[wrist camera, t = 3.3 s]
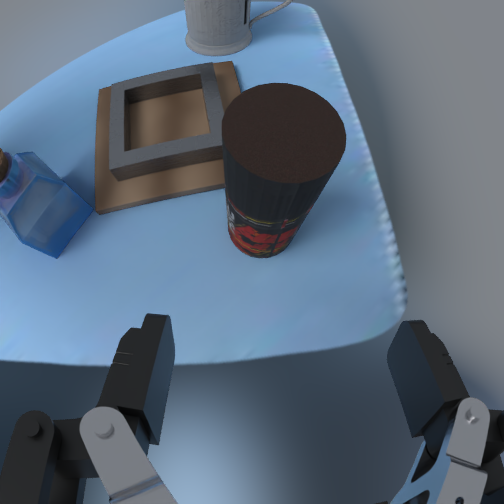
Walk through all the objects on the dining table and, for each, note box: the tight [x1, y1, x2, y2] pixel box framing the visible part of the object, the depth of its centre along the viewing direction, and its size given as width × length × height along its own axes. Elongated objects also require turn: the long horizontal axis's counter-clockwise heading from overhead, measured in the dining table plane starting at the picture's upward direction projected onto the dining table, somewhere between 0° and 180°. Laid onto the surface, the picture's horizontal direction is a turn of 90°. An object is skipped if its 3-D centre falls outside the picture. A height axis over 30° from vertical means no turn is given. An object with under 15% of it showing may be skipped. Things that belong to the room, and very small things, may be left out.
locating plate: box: [95, 61, 241, 215], centre depth 29 cm, size 16×16×4 cm
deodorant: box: [222, 83, 346, 258], centre depth 21 cm, size 6×6×15 cm
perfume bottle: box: [0, 148, 94, 259], centre depth 22 cm, size 6×6×12 cm
